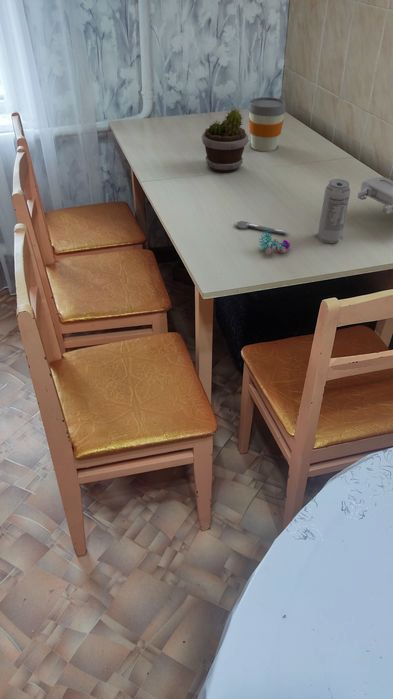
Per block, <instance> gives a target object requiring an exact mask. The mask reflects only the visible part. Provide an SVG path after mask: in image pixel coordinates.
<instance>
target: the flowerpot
mask: <svg viewBox="0 0 393 699" xmlns="http://www.w3.org/2000/svg"><path fill="white" fill-rule="evenodd" d="M243 115H244V114H242V111H240V109H239V107H237V104H236V105H235V106H234V107H232V106H231V108H230V110H228V111H227V114H225V116H224V118H223V119H222V120H221V121H222V122H221V121H219V120H220V119H217V120H216V119H214V121H213V120H212V121H211V123H210V125H209V127H207V128H205V130H204V131H203V133H202V135H201V142H202V144H203V145H204V149H205V154H206V156H205V163H206V165H207V167H208V168H209V169H210V170H211V171H214V172H216V173H232V172H235V171H237V170H239V168H240V167H241V165H243V162H244V161H243V160H244V159H243V153H244V150H245V147H246V146H247V145H248V143H249V141H250V140H249V134H247V133H246V130H245V129H244V128H242V126H243V125H244V123H243V117H244V116H243Z"/></svg>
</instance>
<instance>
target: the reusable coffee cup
mask: <svg viewBox="0 0 393 699" xmlns="http://www.w3.org/2000/svg"><path fill="white" fill-rule="evenodd" d="M248 112H249V117H248V131H249V134H250V146H251V148H252V149H253V150H254V151H255V150H256V151H259V152H271V151H274V150H276V149H277V146H278V141H279V137H280V136H281V134H282V130H283V125H284V121H285V120H284V114H285V113H286V101H285V100H283V99H281V98H277V97H269V96H264V97H263V96H261V97H254V98H252V99H250V101H249V105H248Z"/></svg>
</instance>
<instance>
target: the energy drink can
mask: <svg viewBox="0 0 393 699" xmlns="http://www.w3.org/2000/svg"><path fill="white" fill-rule="evenodd" d="M350 196H351V188H350V183H349V181H347V180H345V179H341V178H334V179H330V180H329V181H328V184H327V185H326V187H325V189H324V194H323V201H322V207H321V213H320V219H319V226H318V230H317V237H318V238H319V240H320V241H321V242H323V243H326V244H337V243H338V242H339V240H341V239H342V237H343V231H344V227H345V226H344V225H345V221H346V216H347V210H348V206H349V201H350Z"/></svg>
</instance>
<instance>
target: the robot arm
mask: <svg viewBox="0 0 393 699" xmlns="http://www.w3.org/2000/svg"><path fill="white" fill-rule="evenodd" d="M367 197H368V198H371V199H373V200H374V201H376V202H377V203H380V204H381V205H383V207H382V208H383V209H382V212H383V213H385V214H386V215H388V214H393V180H392V179H390V178H388V177H385V176H376V177H375V176H374V177H369V178H364V179H363V180H362V182H361V185H360V191H359V192H357V198H358V200H361V201H362V200H367Z"/></svg>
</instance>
